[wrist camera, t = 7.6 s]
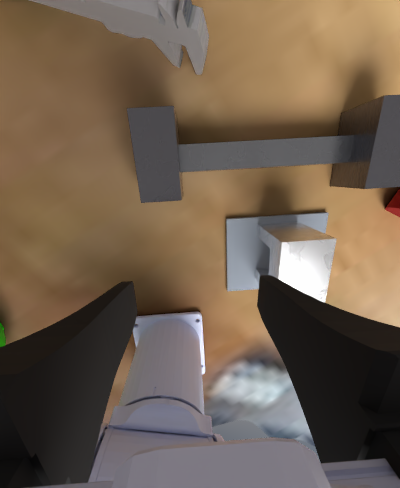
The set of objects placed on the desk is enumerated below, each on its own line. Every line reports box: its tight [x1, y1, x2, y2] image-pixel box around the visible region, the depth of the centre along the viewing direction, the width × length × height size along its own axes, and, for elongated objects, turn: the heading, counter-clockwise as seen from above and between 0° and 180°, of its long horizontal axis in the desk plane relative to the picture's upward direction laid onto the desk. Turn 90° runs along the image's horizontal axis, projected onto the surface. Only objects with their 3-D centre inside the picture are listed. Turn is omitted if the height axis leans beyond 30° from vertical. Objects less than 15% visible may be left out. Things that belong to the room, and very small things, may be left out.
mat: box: [226, 212, 328, 291], centre depth 21 cm, size 8×10×1 cm
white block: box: [255, 222, 336, 303], centre depth 18 cm, size 6×4×6 cm, turn 3°
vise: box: [127, 95, 400, 203], centre depth 16 cm, size 6×20×4 cm, turn 93°
